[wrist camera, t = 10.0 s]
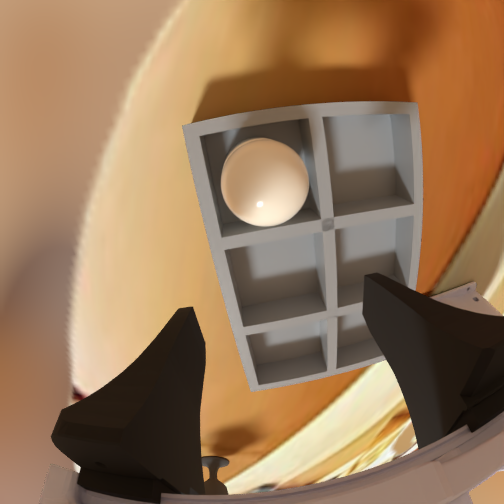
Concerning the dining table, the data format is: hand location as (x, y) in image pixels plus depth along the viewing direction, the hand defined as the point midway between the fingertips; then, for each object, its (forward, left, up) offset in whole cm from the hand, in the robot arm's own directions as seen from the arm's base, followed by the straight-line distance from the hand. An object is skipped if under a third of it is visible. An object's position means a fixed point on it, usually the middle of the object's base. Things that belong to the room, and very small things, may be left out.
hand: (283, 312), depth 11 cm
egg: (0, -4, -9) cm, 10 cm away
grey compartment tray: (-4, +2, -9) cm, 10 cm away
